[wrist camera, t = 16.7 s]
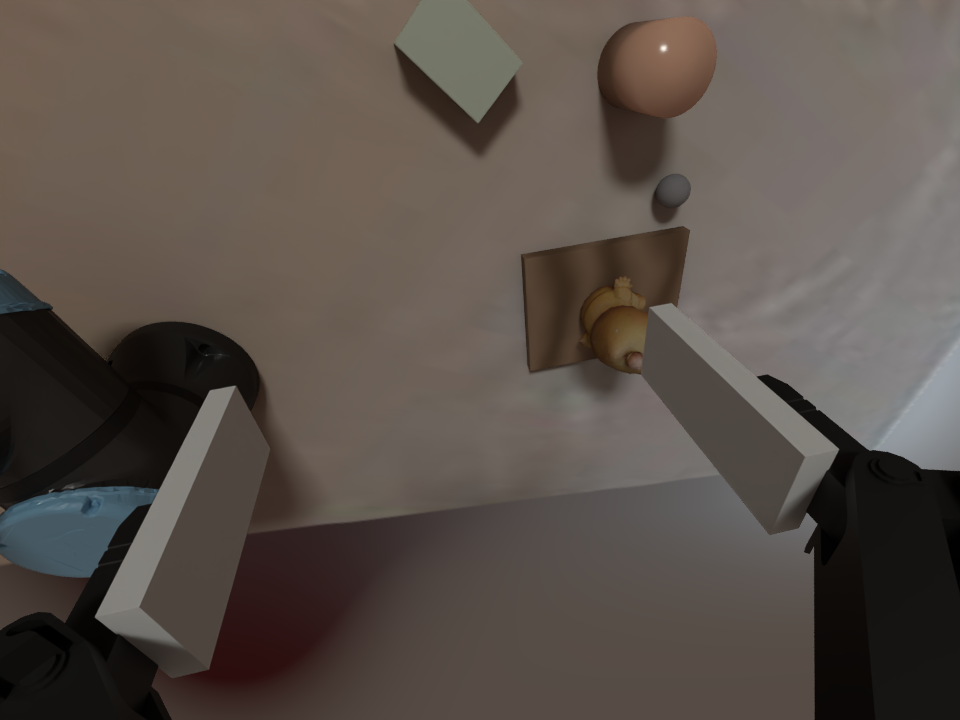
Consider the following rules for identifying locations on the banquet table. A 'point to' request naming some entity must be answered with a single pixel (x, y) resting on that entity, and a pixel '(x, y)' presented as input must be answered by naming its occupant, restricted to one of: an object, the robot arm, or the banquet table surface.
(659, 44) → the brown rounded cylinder
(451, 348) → the banquet table surface
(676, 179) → the ball
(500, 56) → the block
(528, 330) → the board
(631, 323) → the figurine
